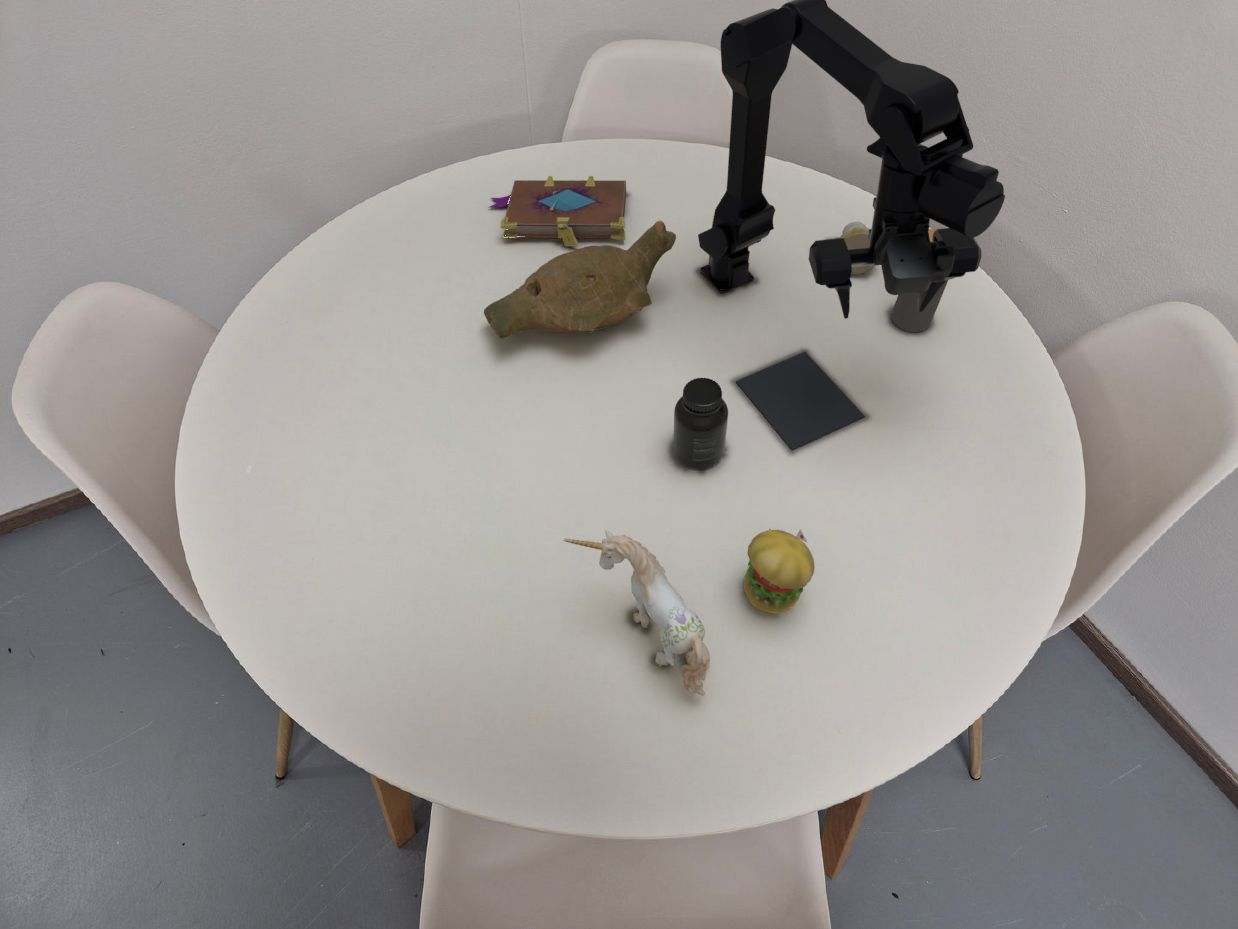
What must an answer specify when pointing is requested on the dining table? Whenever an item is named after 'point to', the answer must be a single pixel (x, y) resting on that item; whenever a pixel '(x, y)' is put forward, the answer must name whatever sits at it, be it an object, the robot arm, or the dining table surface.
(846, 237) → the mug
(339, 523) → the dining table surface
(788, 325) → the dining table surface
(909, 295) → the bottle
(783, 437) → the mat
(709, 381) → the supplement bottle
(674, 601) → the unicorn figurine
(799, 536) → the hamburger
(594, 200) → the book
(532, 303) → the sculpture
